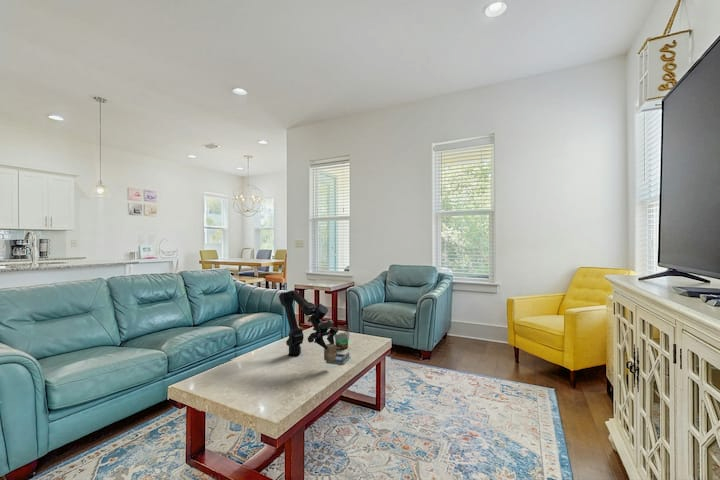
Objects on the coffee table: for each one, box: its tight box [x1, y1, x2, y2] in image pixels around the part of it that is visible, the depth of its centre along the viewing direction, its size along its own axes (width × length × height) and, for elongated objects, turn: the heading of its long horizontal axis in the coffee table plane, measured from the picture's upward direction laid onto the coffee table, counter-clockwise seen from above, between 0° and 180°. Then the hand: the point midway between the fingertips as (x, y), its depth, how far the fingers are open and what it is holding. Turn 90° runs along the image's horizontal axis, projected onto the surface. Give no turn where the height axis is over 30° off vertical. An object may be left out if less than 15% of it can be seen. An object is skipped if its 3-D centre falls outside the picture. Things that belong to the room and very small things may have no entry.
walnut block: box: [323, 343, 337, 363], centre depth 180 cm, size 4×5×8 cm
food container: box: [334, 330, 351, 351], centre depth 215 cm, size 12×6×10 cm, turn 143°
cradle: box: [325, 352, 352, 365], centre depth 194 cm, size 11×11×3 cm
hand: (330, 347), depth 180 cm, fingers closed on walnut block, 5 cm apart
